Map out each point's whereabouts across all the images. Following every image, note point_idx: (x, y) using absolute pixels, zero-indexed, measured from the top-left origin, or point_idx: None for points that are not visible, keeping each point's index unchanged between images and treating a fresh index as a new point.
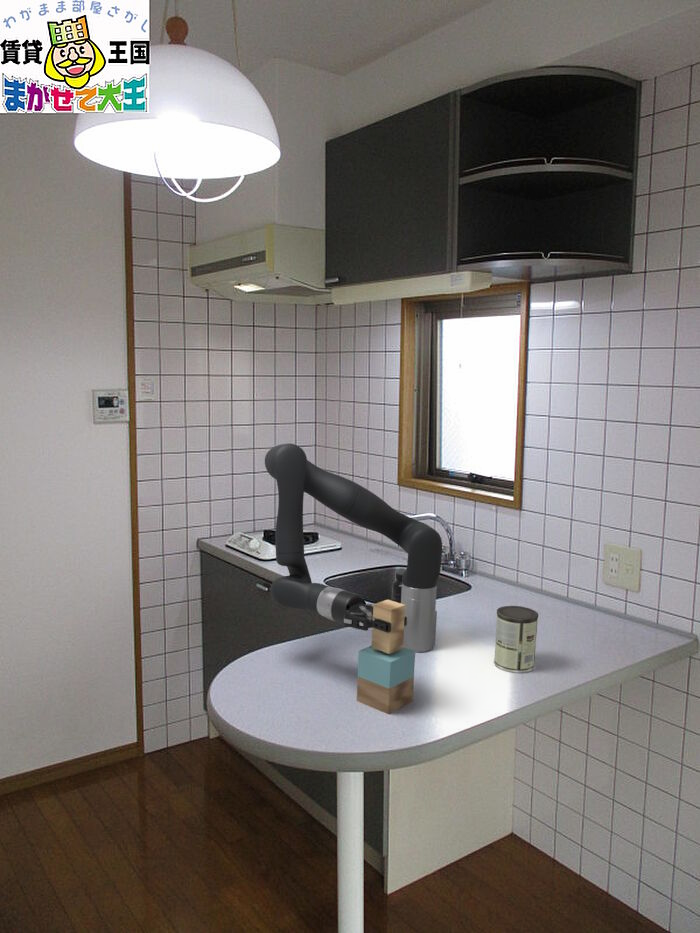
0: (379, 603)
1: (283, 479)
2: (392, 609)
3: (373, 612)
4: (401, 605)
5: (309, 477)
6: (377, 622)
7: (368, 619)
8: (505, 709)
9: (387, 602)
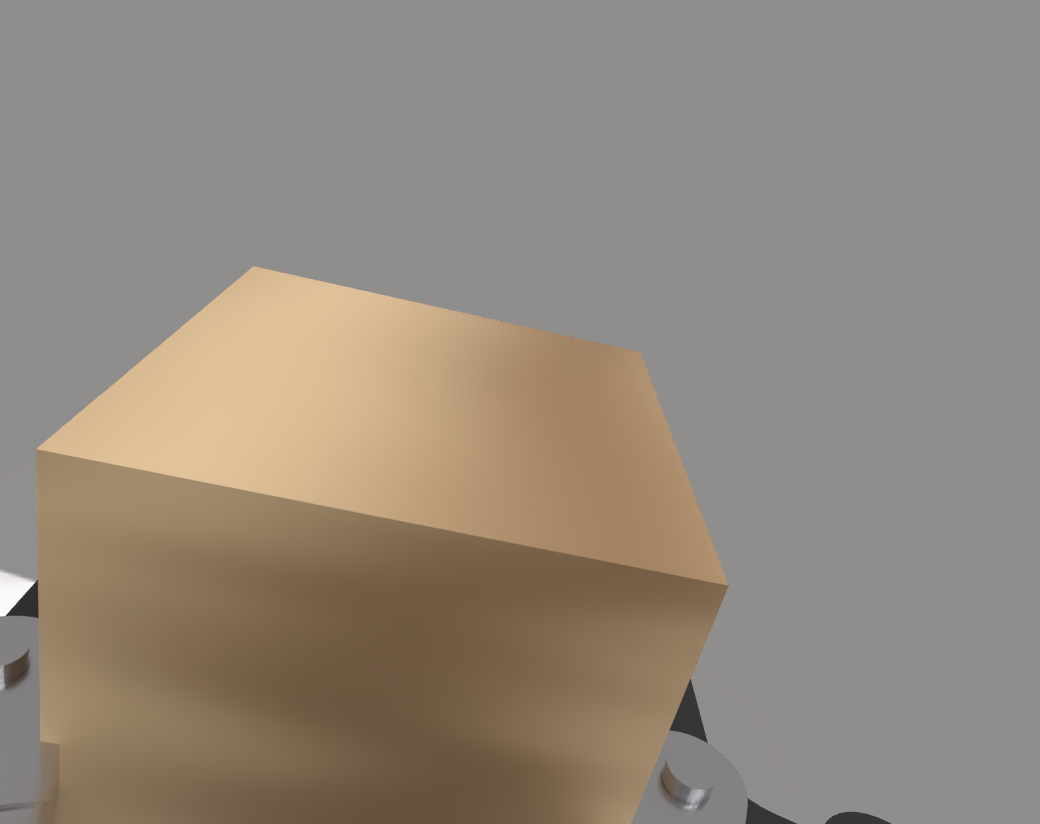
0: (540, 511)
1: None
2: (606, 346)
3: (653, 755)
4: (321, 292)
5: None
6: (687, 709)
7: (842, 819)
8: (11, 586)
9: (323, 421)
